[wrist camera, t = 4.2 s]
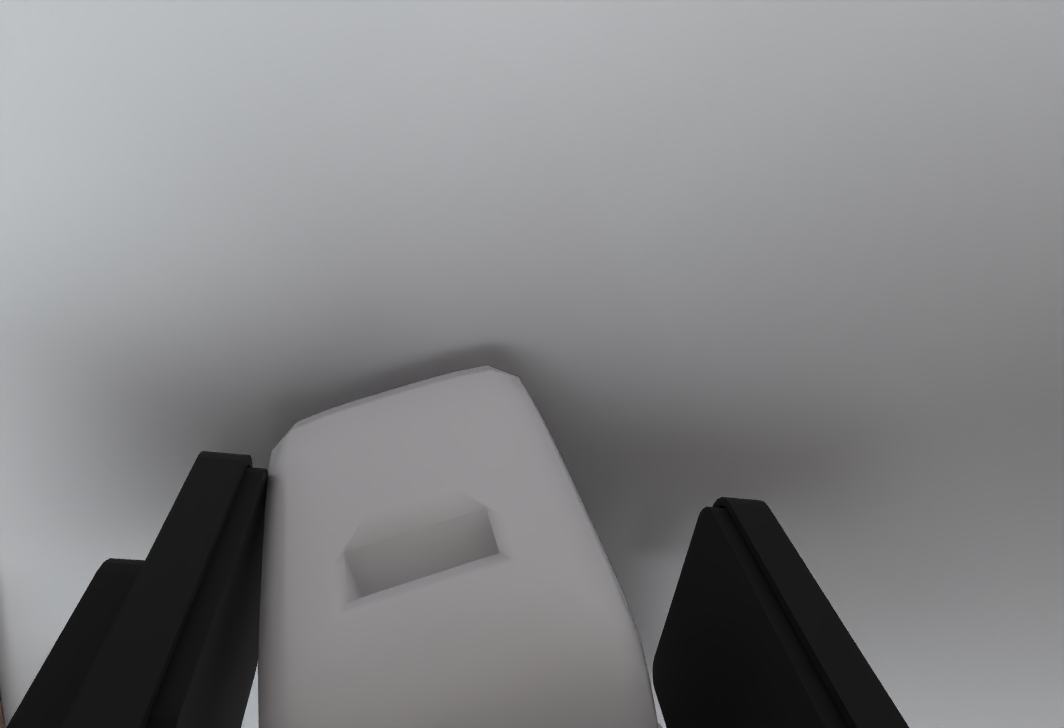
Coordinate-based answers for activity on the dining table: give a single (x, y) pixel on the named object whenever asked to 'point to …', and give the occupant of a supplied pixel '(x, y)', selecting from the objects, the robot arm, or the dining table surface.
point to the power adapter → (439, 572)
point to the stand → (1, 717)
